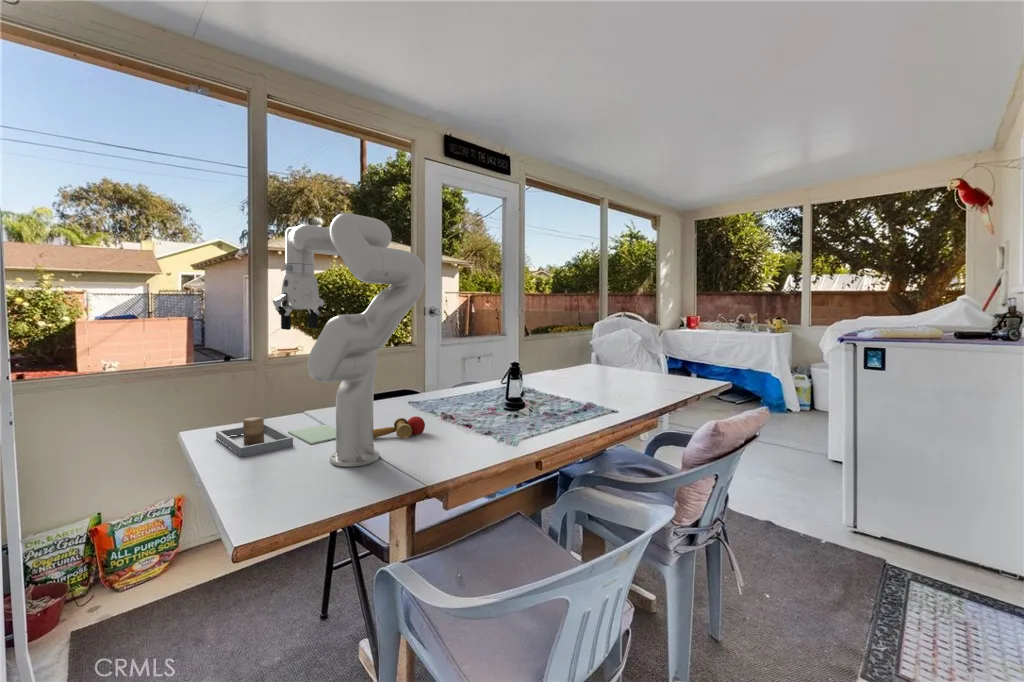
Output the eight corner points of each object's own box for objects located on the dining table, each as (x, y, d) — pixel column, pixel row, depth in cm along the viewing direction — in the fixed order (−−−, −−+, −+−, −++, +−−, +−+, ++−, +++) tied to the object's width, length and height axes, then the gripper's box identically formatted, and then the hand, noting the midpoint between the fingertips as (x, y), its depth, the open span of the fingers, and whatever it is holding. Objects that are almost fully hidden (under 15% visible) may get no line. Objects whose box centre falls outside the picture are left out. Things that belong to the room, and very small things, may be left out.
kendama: (370, 448, 135) (429, 433, 142) (367, 427, 135) (425, 414, 143) (368, 445, 142) (423, 431, 149) (364, 425, 142) (420, 412, 150)
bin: (293, 446, 130) (292, 437, 130) (240, 457, 120) (240, 448, 120) (264, 430, 145) (264, 422, 144) (216, 439, 134) (216, 431, 134)
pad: (348, 436, 141) (348, 434, 141) (310, 444, 132) (310, 442, 132) (325, 425, 152) (325, 424, 151) (288, 433, 143) (288, 431, 143)
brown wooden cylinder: (266, 442, 133) (266, 419, 132) (247, 446, 129) (246, 422, 128) (260, 438, 136) (259, 416, 135) (241, 442, 132) (240, 419, 132)
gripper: (283, 268, 122) (283, 331, 124) (332, 272, 138) (331, 328, 140) (264, 268, 125) (265, 329, 127) (314, 272, 141) (313, 326, 143)
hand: (299, 328), depth 133 cm, fingers open, 9 cm apart
